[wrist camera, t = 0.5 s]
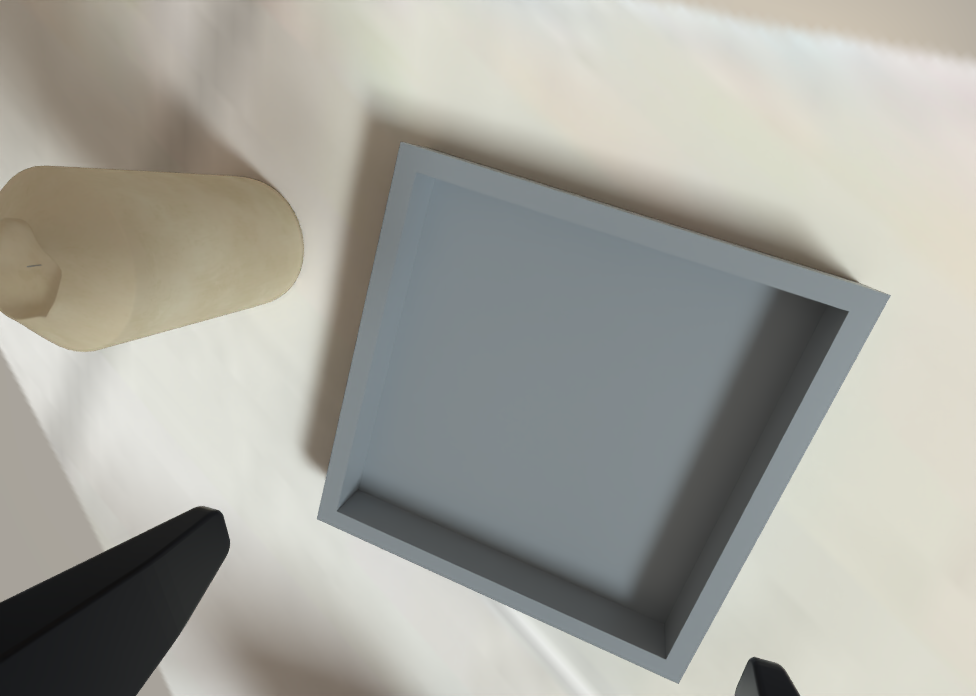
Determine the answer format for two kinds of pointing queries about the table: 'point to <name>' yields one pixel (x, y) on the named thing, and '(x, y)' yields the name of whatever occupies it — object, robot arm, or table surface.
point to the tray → (580, 402)
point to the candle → (139, 251)
